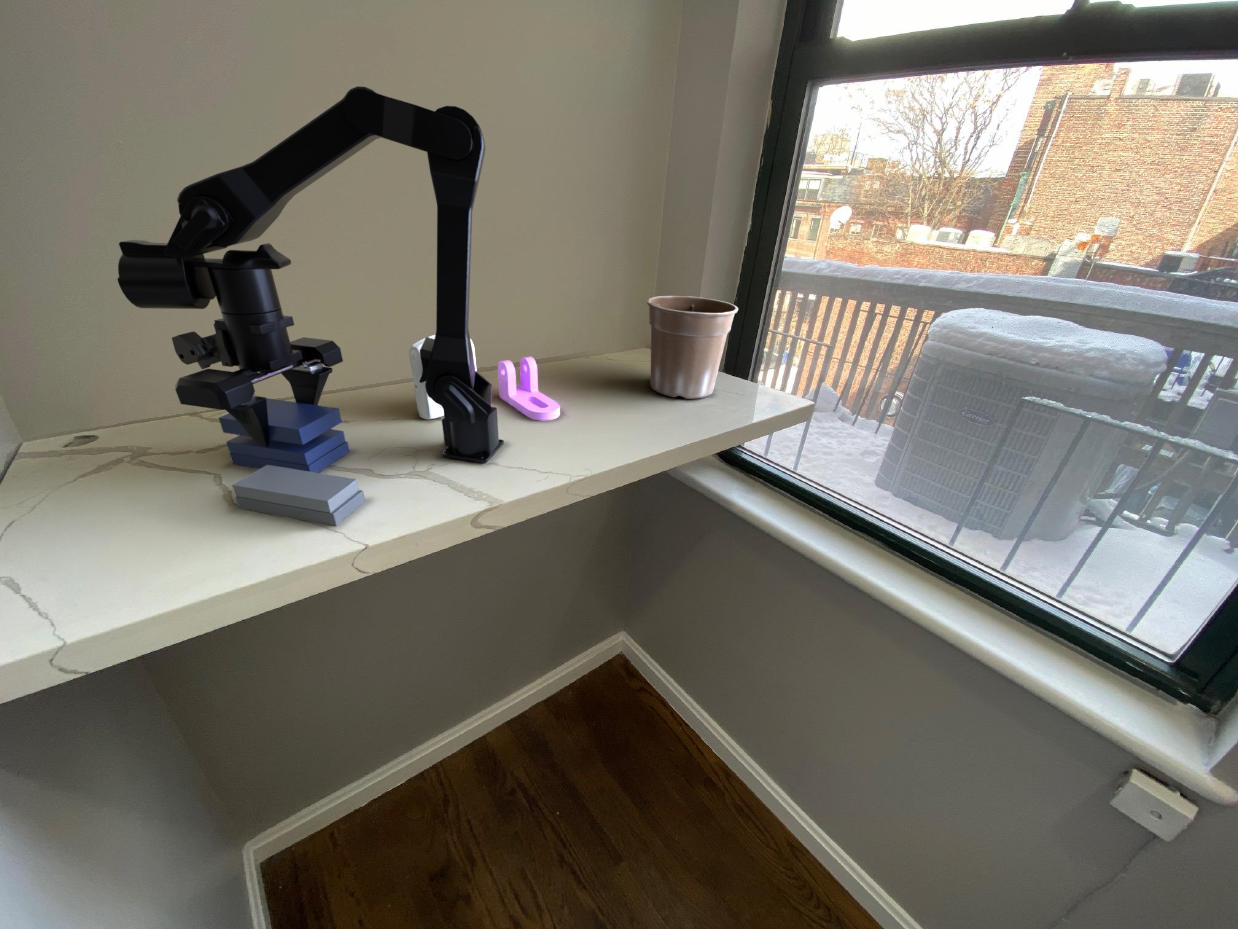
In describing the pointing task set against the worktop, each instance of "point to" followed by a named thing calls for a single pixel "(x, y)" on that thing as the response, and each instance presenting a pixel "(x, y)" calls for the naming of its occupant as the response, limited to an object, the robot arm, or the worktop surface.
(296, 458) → the navy books
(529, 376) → the bracket
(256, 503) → the grey books
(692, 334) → the plant pot
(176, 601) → the worktop surface
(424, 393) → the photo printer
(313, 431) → the navy book
